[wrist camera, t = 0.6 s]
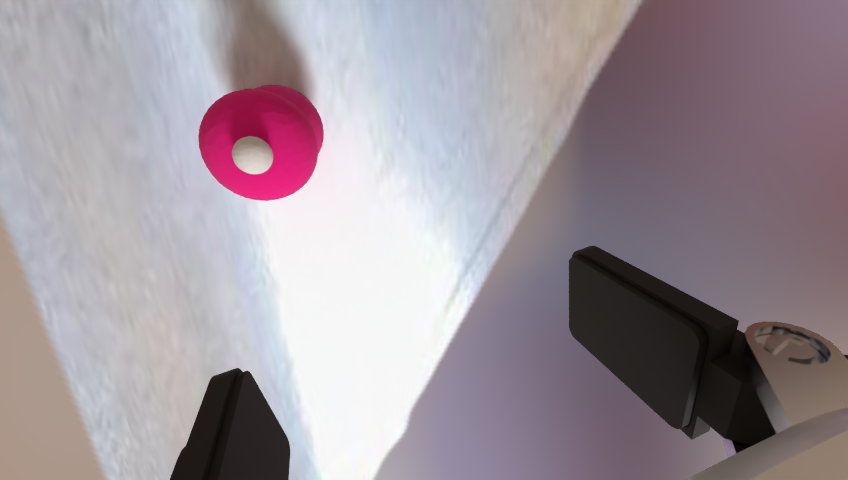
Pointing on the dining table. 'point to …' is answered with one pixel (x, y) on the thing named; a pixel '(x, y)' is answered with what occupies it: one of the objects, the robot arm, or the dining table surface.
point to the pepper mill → (261, 141)
